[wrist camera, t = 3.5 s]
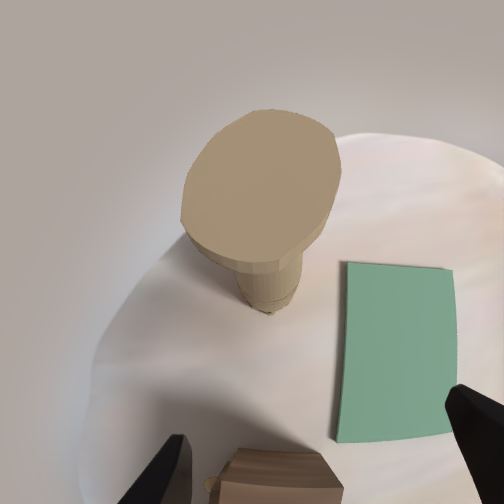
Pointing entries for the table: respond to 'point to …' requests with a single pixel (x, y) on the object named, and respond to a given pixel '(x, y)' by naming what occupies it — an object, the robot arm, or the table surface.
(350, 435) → the mat
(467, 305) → the table surface
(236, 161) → the handle
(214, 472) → the table surface
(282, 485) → the cabinet
